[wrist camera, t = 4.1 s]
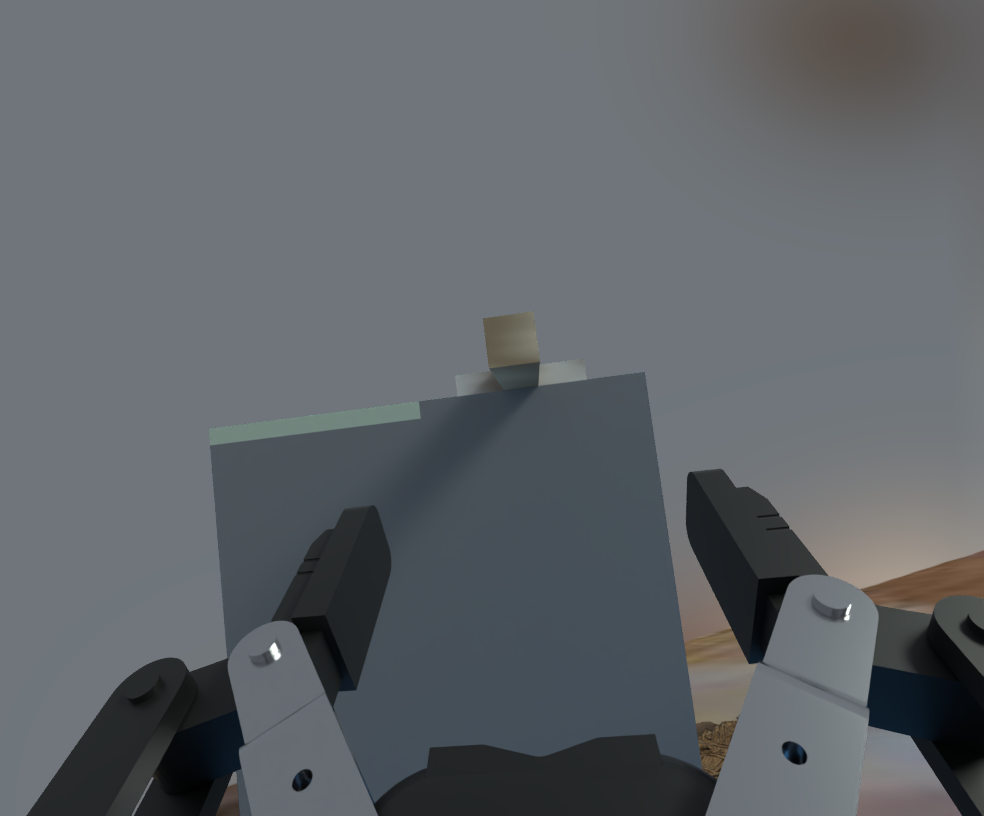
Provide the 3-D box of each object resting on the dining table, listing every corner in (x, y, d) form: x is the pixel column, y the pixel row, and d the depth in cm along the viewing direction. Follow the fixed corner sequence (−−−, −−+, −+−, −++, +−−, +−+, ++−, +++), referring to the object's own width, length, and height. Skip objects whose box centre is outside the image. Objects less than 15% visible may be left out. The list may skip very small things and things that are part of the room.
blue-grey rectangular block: (669, 807, 37) (611, 392, 39) (733, 983, 25) (644, 372, 27) (339, 827, 39) (302, 431, 41) (254, 998, 27) (208, 428, 30)
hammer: (575, 395, 39) (571, 370, 39) (617, 351, 19) (610, 300, 19) (475, 408, 39) (472, 383, 39) (414, 378, 19) (408, 329, 20)
